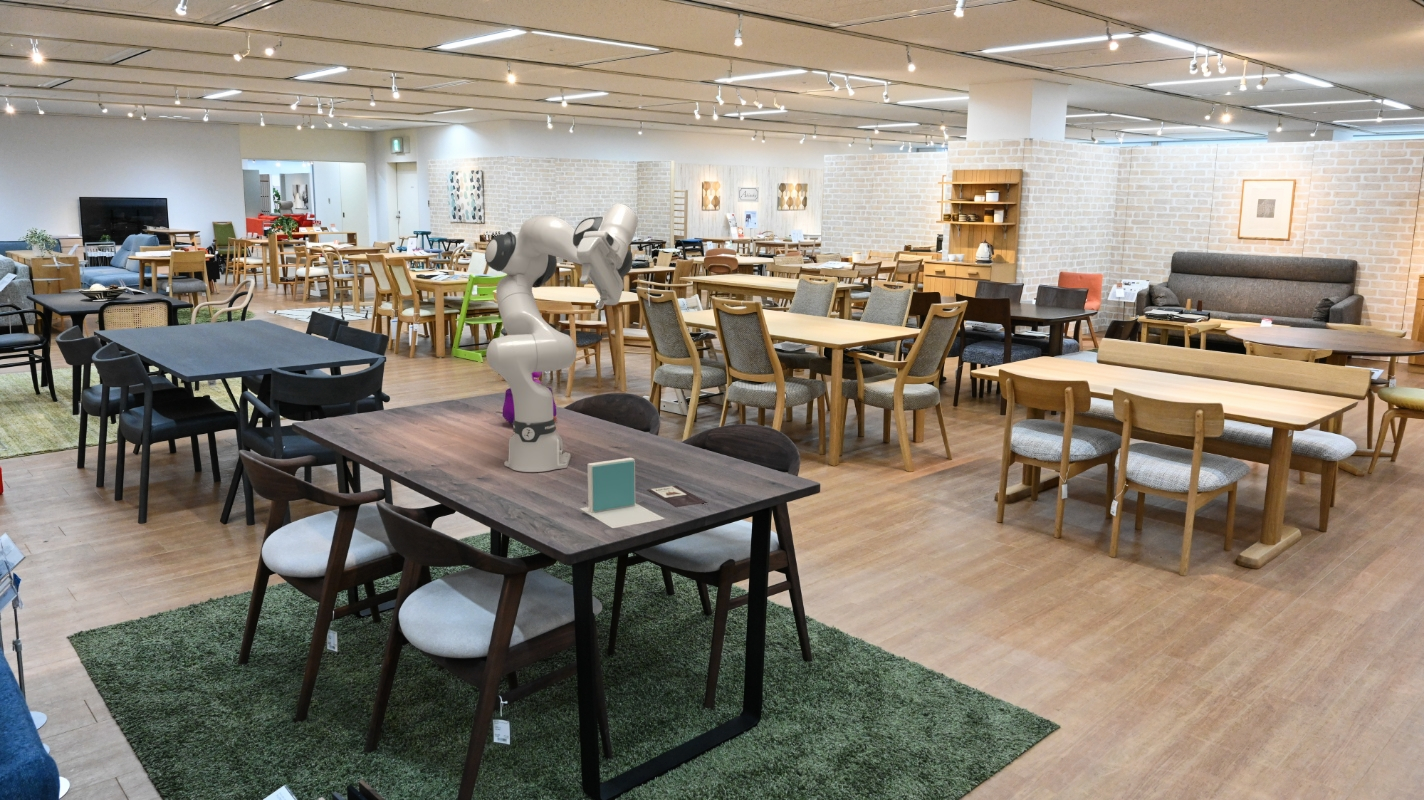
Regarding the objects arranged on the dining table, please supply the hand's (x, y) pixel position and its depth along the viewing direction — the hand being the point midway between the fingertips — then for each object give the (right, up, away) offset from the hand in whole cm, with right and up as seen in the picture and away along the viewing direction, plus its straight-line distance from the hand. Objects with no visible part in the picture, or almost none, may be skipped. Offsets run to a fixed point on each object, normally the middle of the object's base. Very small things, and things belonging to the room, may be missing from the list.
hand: (591, 295), depth 248 cm
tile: (+6, -54, -3) cm, 54 cm away
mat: (+8, -55, -8) cm, 56 cm away
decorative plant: (-33, -35, +97) cm, 109 cm away
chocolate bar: (+21, -53, +8) cm, 57 cm away
